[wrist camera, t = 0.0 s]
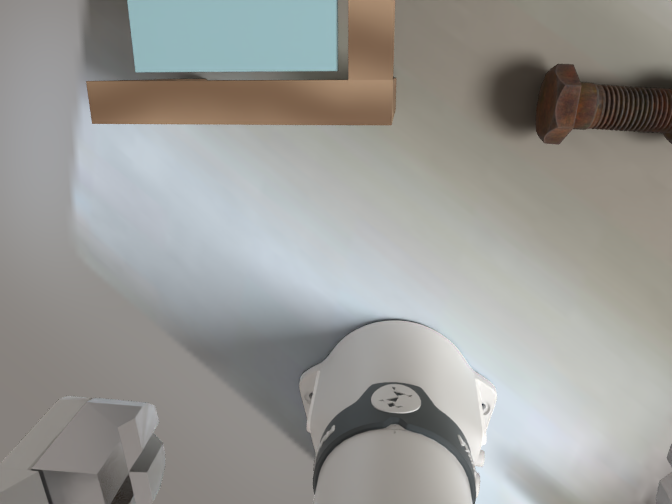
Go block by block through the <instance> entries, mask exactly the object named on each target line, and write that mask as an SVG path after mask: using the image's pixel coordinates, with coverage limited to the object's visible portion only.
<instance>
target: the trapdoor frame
mask: <svg viewBox="0 0 672 504" xmlns="http://www.w3.org/2000/svg"><path fill="white" fill-rule="evenodd" d="M394 24H395V0H348V80H207V79H157V80H118V81H86V83H87V90H88V97H89V104H90V111H91V118H92V124H244V125H392V121H393V117H394V113H395V109H396V78H393V62H394Z"/></svg>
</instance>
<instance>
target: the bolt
mask: <svg viewBox="0 0 672 504" xmlns="http://www.w3.org/2000/svg"><path fill="white" fill-rule="evenodd" d="M588 128H592V129H595V128H596V129H602V130H603V129H605V130H609V129H610V130H620V131H623V130H624V131H634V132H635V131H638V132H652V133H653V132H657V133H658V132H660V133H663V134H664V136H665V138H666V139H667V140H668V141H669V142H670V143H671V144H672V89H665V88H663V89H662V88H658V89H657V88H647V87H645V88H643V87H626V86H625V87H624V86H612V85H611V86H610V85H607V86H606V85H596V84H594V83H583V82H580V81H579V78H578V75H577V73H576V70H575V67H574V65H573V64H557V65H556V66H554V67H553V68H551V69H550V70H549V71H548V72H547V74H546V75H545V78H544V81H543V83H542V86H541V89H540V93H539V98H538V104H537V110H536V132H537V134H538V136H539V138H540V139H541V140H542V141H543V142H544V143H547V144H560V143H561V142H562V141H563V139H564V138H565V137H566V136H567V135H568V134H569V133H570V131H571V130H572V129H583V130H585V129H588Z"/></svg>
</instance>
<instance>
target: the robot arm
mask: <svg viewBox="0 0 672 504" xmlns="http://www.w3.org/2000/svg"><path fill="white" fill-rule="evenodd" d="M299 389H300V393H301V397H302V401H303V405H304V409H305V413H306V417H307V431H308V432H309V433H311V438H312V442H313V446H314V449H315V453H316V456H315V461H314V468H313V470H314V476H313V489H314V495H315V496H314V501H313V504H475V500H476V498H477V496H478V493H479V488H480V475H479V473H477V472H476V471H475V466H478V467H482V466H483V465H484V461H485V452H484V451H483V450H481V446H482V445H484V444H486V430H487V427H488V424H489V421H490V418H491V415H492V412H493V410H494V407H495V404H496V400H497V391H496V388H495V386H494V385H493V384H492V383H491V382H490V381H489V380H487V379H486V378H485V377H483V376H481V375H480V374H478V373H477V372H475V371H474V370H473V369H472V368H471V367H470V366H469V364H468V363H467V361H466V360H465V358H464V357H463V355H462V354H461V352H460V351H459V350H458V349H457V347H456V346H455V345H454V344H453V343H452V342H451V341H449V340H448V339H447V338H446V337H444V336H443V335H442V334H440V333H438V332H437V331H435V330H433V329H431V328H429V327H426V326H423V325H421V324H417V323H413V322H408V321H397V320H391V321H381V322H375V323H372V324H368V325H365V326H363V327H360V328H358V329H356V330H355V331H353V332H351V333H350V334H348V335H347V336H345V337H344V338H343V339H342V340H341V341H340V342H339V343H338V344H337V345H336V346H335V347H334V349H333V350H332V351H331V353H330V354H329V355H328V357H327V358H326V359H325V360H324V361H323V362H321V363H319V364H317V365H315V366H314V367H312V368H310V369H308V370H307V371H305V372H304V373H303V374H302V375H301V377H300V382H299ZM312 392H313V395H311V393H312ZM482 403H483V404H484V405H483V406H482ZM158 423H159V419H158V415H157V411H156V407H155V406H154V405H152V404H150V403H146V402H135V401H124V400H113V399H102V398H85V397H74V396H66V397H63V398H61V399H58V400H57V401H56V402H55V404H54V405H53V406H52V407H51V408H50V409H49V410H48V411H47V412H46V413H45V414H44V416H43V417H42V418H41V419H40V420H39V421H38V422H37V423H36V424H35V426H34V427H33V428H32V429H31V430H30V431H29V432H28V433H27V435H25V437H24V438H23V439H22V440H21V441H20V442H19V443H18V444H17V445H16V447H15V448H14V449H13V450H12V451H11V452H10V453H9V454H8V455H7V456H6V458H5V459H4V460H3V461H2V462H1V463H0V504H151V503H152V502H153V501H154V499H155V497H156V495H157V492H158V491H159V488H160V486H161V482H162V478H163V474H164V470H165V450H164V445H163V442H162V441H161V440H160V439H159V438H158V437H157V436H156V435H155V434H154V433H153V432H154V430H155V428H156V427H157V425H158ZM667 460H668V462H669V463H670V465H671V467H672V444H671V446H670V449H669V452H668V455H667ZM656 504H672V472H671V473H670V474H668V475H667V476H665V477H664V478H663V479H661V480H660V482H659V486H658V490H657V494H656Z"/></svg>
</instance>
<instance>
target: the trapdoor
mask: <svg viewBox="0 0 672 504" xmlns="http://www.w3.org/2000/svg"><path fill="white" fill-rule="evenodd" d="M127 3H128V11H129V20H130V29H131V37H132V46H133V55H134V63H135V72H263V71H338V0H127Z"/></svg>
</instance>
